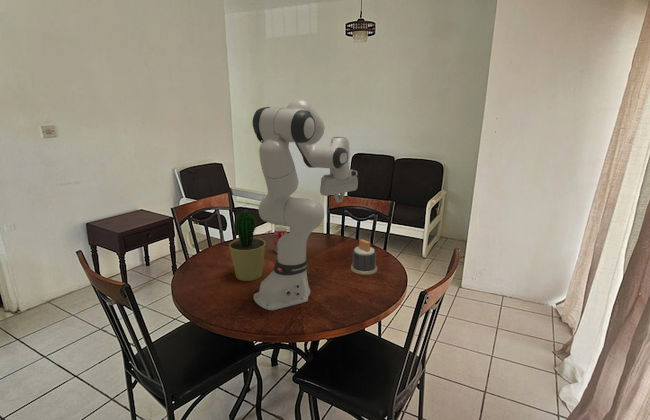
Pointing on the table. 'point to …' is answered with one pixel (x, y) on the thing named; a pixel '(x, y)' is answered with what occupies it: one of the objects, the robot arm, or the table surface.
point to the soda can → (278, 236)
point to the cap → (364, 248)
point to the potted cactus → (247, 249)
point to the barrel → (364, 264)
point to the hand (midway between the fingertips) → (339, 202)
